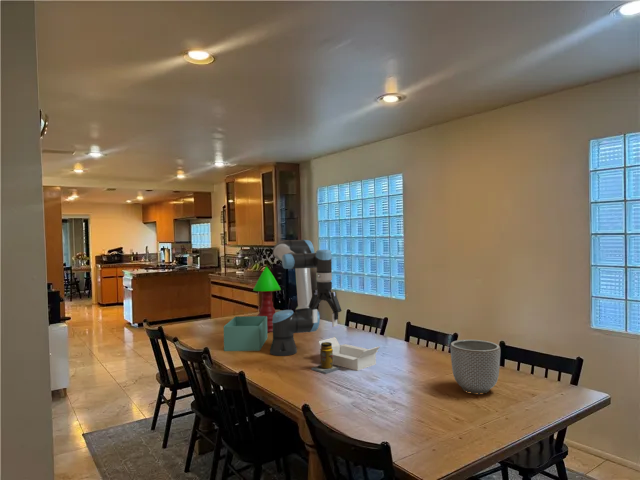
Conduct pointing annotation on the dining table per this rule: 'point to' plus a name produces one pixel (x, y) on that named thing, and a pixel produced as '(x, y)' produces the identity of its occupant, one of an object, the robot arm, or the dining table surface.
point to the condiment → (326, 356)
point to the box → (245, 333)
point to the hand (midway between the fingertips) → (324, 324)
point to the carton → (352, 355)
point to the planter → (475, 364)
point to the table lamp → (267, 296)
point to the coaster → (325, 370)
